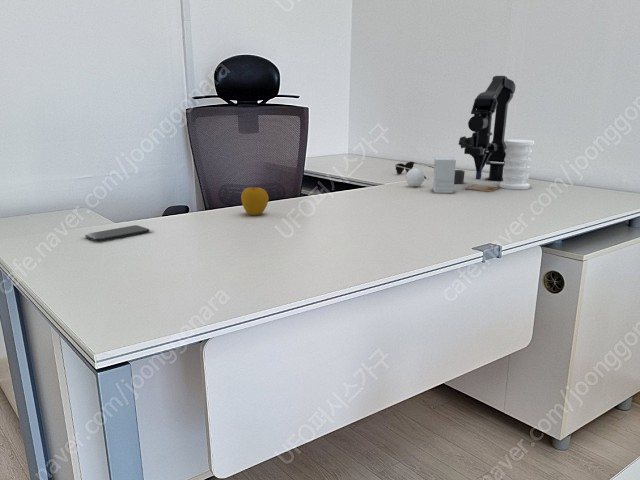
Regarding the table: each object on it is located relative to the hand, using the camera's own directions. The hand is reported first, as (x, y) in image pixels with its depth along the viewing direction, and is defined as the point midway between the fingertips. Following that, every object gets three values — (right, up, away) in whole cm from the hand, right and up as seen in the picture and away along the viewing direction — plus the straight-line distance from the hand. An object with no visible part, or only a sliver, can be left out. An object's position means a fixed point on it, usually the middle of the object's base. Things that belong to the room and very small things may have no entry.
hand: (479, 171), depth 232 cm
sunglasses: (-18, +5, +34) cm, 39 cm away
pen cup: (-5, -2, +15) cm, 16 cm away
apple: (-83, -23, -42) cm, 96 cm away
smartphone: (-118, -32, -67) cm, 140 cm away
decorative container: (+16, -5, +7) cm, 18 cm away
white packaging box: (-15, -9, -3) cm, 18 cm away
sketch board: (+2, -6, +3) cm, 7 cm away
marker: (0, -3, +1) cm, 3 cm away
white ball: (-25, -4, +8) cm, 26 cm away
